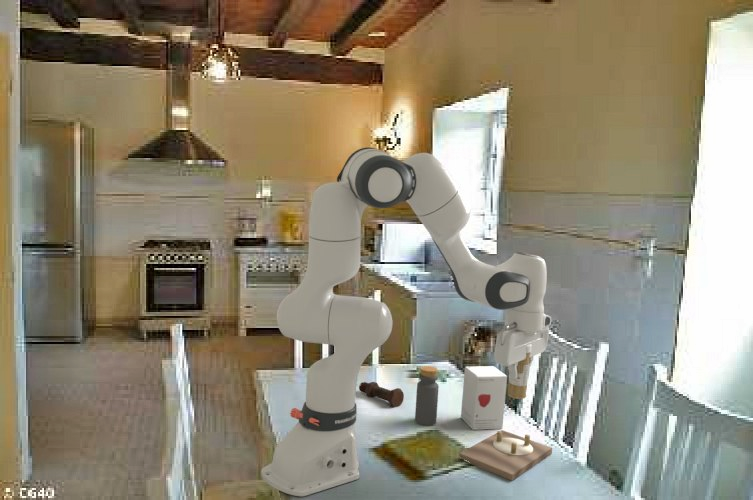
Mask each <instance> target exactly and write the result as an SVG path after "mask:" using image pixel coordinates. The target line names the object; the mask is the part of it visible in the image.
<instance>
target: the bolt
mask: <svg viewBox="0 0 753 500" xmlns="http://www.w3.org/2000/svg"><path fill="white" fill-rule="evenodd" d="M358 389H359V392H360V393H363V394H365V395H366V397H367V398H369V399H374V398H377V399H380V400H383V401H386V402H388V404H389V405H390V407H391V408H397V407H400V406H401V405H402V404H403V403H404V398H405V396H404V395H405V394H404V392H403V390H402V389H401V388H399V387H398V388H394V389H391V390H390V389H387V388H385V387H381V386H379V384H378V382H376V381H372V382H366V381H364V382H363V381H362V382H360V383H359V386H358Z"/></svg>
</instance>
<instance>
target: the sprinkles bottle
mask: <svg viewBox="0 0 753 500" xmlns="http://www.w3.org/2000/svg"><path fill="white" fill-rule="evenodd" d="M530 352H531V344H530V345H527V346H526V353H527V354H526V358H525V359H524V360H522V361H519V362H518V366H516V367H517V371H519V374H518V378H517V379H510V378H509V377H508V388H507V389H508V390H507V391H506V392H507V395H508V397H511V398H513V399H515V400H516V399H517V400H522V399H525V398H527V387H528V380H529V373H528V371H529V358H530Z"/></svg>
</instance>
